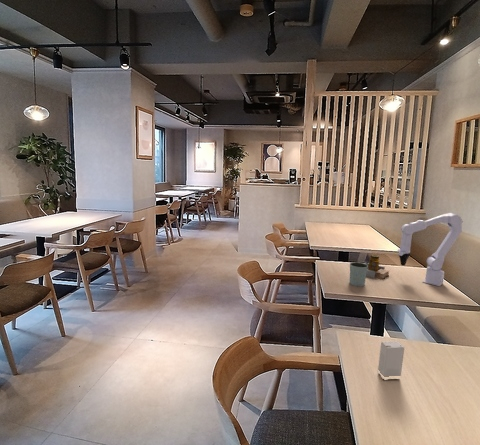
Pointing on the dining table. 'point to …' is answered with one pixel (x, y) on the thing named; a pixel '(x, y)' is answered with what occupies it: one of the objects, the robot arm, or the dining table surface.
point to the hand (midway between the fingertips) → (402, 265)
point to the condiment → (373, 263)
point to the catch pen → (372, 273)
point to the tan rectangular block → (381, 273)
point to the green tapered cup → (358, 273)
